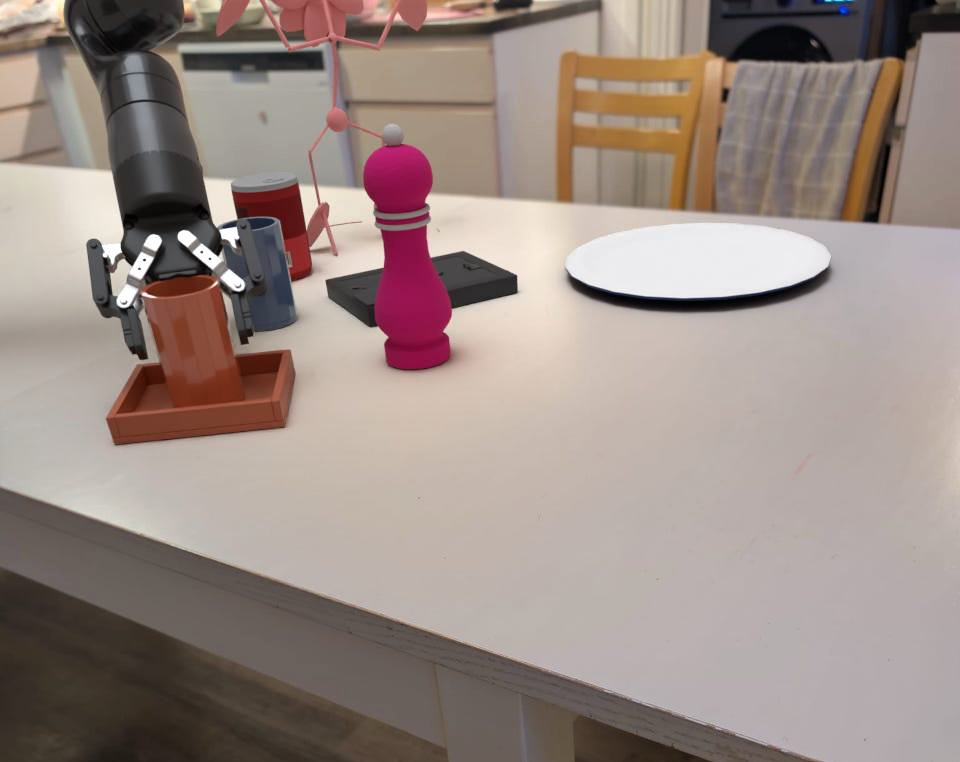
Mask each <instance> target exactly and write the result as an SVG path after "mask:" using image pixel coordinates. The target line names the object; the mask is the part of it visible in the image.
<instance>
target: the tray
mask: <svg viewBox="0 0 960 762" xmlns="http://www.w3.org/2000/svg"><path fill="white" fill-rule="evenodd" d="M236 354H237V353H236ZM237 359H238V363H239V367H240V371H241V376H242V380H243V384H244V391H245V397H244V399H243V400H242V401H240V402H231V403H221V404H211V405H201V406H192V407H182V408H173V406H172V402H171V400H170V397H169V394H168V390H167V387H166V383H165V380H164V376H163V373H162V369H161V366H160V362H159V361H158V362H150V363H149V362H148V363H140V364H139V363H138V364H136V365H135V367H134V369H133V370H132V372H131V374H130V375H129V377H128V379H127V381H126V382H125V384H124V386H123V388H122V390H121V391H120V392H119V395H118V396H117V398H116V400H115V402H114V403H113V405H112V406H111V408H110V410H109V412H108V414H107V415H106V417H105V421H106V424H107V427H108V429H109V432H110V436H111V438H112V442H113V444H114V445H123V444H132V443H142V442H152V441H161V440H171V439H180V438H181V439H182V438H191V437H200V436H210V435H219V434H221V435H222V434H230V433H240V432H250V431H257V430H258V431H259V430H268V429H278V428H285V427H286V424H287V423H286V422H287V418H288V413H289V407H290V403H291V398H292V392H293V388H294V387H293V386H294V383H295V377H296V369H295V364H294V359H293V353H292V350H291V349H278V350H277V349H276V350H268V351H258V352H257V351H256V352H248V353H239V354H237Z"/></svg>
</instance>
